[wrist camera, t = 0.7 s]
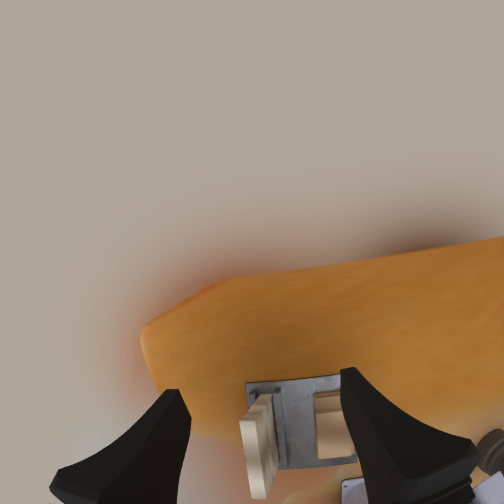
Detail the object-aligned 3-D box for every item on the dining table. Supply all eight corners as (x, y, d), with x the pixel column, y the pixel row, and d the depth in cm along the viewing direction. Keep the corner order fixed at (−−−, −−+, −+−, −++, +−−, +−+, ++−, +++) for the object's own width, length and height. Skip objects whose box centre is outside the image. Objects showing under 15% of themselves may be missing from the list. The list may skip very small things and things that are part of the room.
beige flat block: (280, 460, 29) (266, 499, 21) (269, 460, 30) (252, 498, 21) (272, 393, 31) (255, 421, 23) (260, 394, 32) (239, 421, 23)
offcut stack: (354, 451, 27) (355, 459, 25) (317, 455, 28) (316, 464, 26) (351, 388, 29) (353, 394, 27) (312, 393, 30) (311, 400, 28)
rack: (356, 461, 27) (358, 468, 25) (258, 467, 30) (254, 475, 28) (353, 371, 30) (355, 375, 28) (246, 382, 33) (241, 387, 31)
